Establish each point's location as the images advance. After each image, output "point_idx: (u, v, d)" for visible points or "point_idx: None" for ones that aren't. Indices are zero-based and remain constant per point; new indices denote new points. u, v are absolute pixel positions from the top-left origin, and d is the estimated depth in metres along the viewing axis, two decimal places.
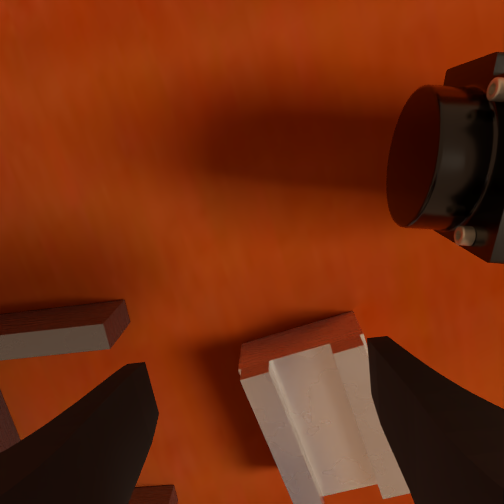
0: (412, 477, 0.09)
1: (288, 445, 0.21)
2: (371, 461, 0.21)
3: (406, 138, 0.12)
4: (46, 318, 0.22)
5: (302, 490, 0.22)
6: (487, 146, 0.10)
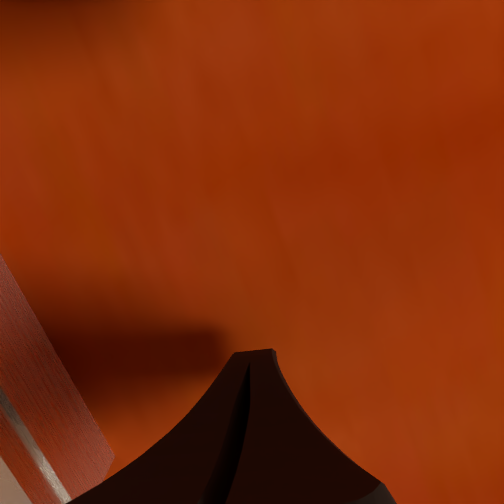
0: None
1: None
2: None
3: None
4: None
5: None
6: None
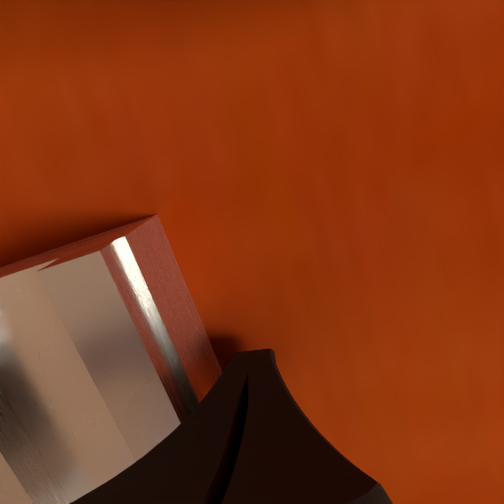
0: None
1: None
2: None
3: None
4: None
5: None
6: None
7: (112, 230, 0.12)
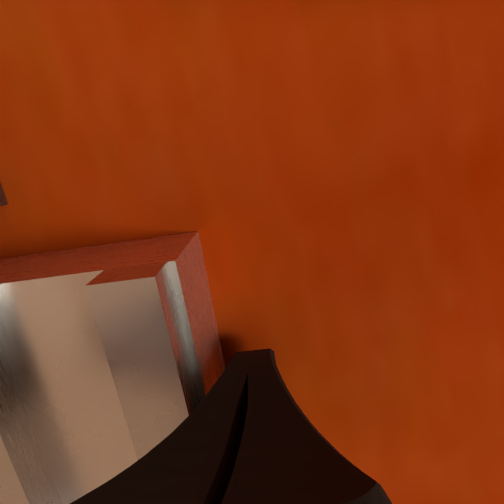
0: None
1: None
2: None
3: None
4: None
5: None
6: None
7: (150, 242, 0.11)
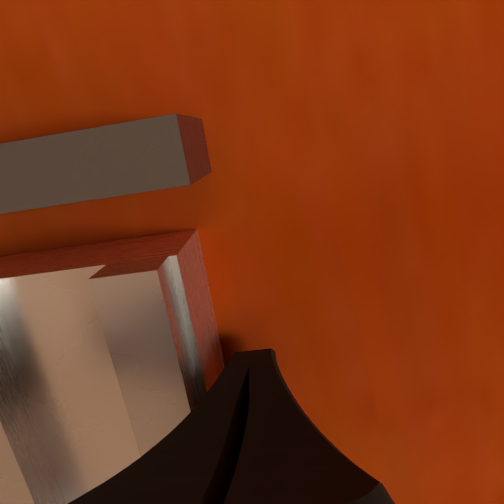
0: None
1: None
2: None
3: None
4: None
5: None
6: None
7: (151, 238, 0.12)
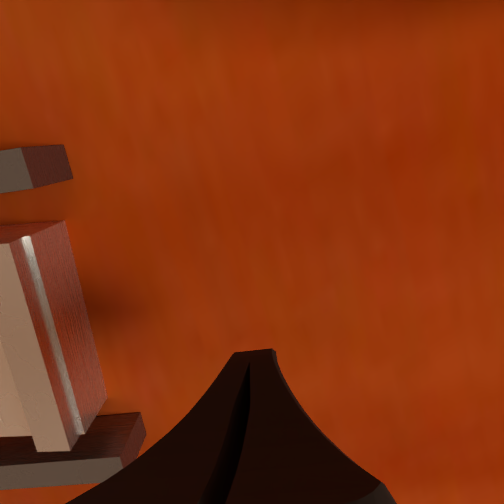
0: None
1: None
2: (22, 401, 0.17)
3: None
4: None
5: None
6: None
7: (32, 224, 0.18)
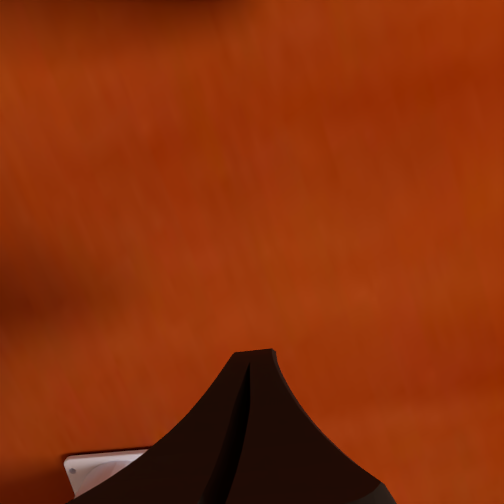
0: None
1: None
2: None
3: None
4: None
5: None
6: None
7: None
